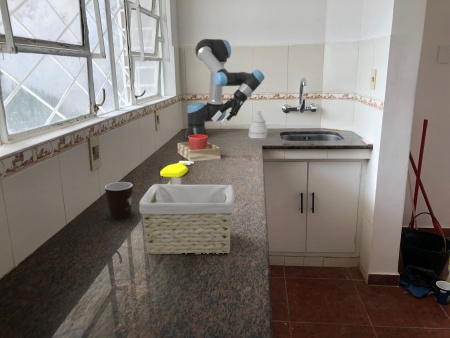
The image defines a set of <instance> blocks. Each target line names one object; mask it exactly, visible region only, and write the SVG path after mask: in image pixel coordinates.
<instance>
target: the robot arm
mask: <svg viewBox="0 0 450 338" xmlns="http://www.w3.org/2000/svg"><path fill="white" fill-rule="evenodd" d="M194 52H195V55H196V57H197V59H199V61H201V62H203V63H204V65H205V66H206V68H207V69H208V70H209V71H210V75H209V76H210V78H209V79H210V81H209V96H208V99H207V100H206V103H205V102H194V103H193V102H192V103H191V104H189V105H187V107H186V109H187V110H186V113H187V128H186V130H185V135H184V136H185V137H184V138H185V139H188V140H189V138H188V136H190V135H206V136H208V132H207V129H206V122H214V123H216V122H218V121H219V122H220V123H221V124H222V125H223V126H224V127H225V126H226V125H227V124H228V123H229V121H231V119H232V118H233V117H236V116H238V113H239V111H240V110H241V107H242V105H244V103H245V102H246V101H247V100H248V98H249V97H251V96H252V94H253V93H254V92H255V91H256V90H257V89H258V87H260V85H261V84H262V83H263V81H264V80H265V75H264V74H263V72H262V71H261V70H259V69H254V70H253V71H252V72H251V73H250V72H245V71H239V72H235V71H234V72H231V71H230V72H229V71H228V70H227V69H226V68H225V64H226V63H227V61H228V59H230V58H231V55H232V48H231V45H230V42H229V40H227V39H220V38H203V39H201V40H199V41H198V42H197V44H196V46H195V51H194ZM223 87H238V88H237V89H236V91H234V93H233V98H232V97H230V98H229V99H228V100H227V101H225V102H224V101H223V100H222V97H223ZM229 109H230V111H229V112H228V113H227V111H228V110H229ZM226 114H227V115H226Z"/></svg>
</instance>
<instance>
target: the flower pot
mask: <svg viewBox="0 0 450 338" xmlns="http://www.w3.org/2000/svg"><path fill="white" fill-rule="evenodd" d="M188 138H189V139H188V142H189V144H190V150H201V149H206V146H207V142H208V139H209V136H208V135H207V136H206V135H190V136H188Z"/></svg>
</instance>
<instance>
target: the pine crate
mask: <svg viewBox="0 0 450 338" xmlns="http://www.w3.org/2000/svg"><path fill="white" fill-rule="evenodd" d="M177 153H178V154H179V155H180V156H182V157H183V158H184V159H186V160H187V161H191V162H198V161H209V160H218V159H221V156H222V155H221V153H222V151H221V147H220V146H217V145H215V144H213V143H212V142H209V141H207V146H206V149H201V150H190V144H189V141H188V142H177Z"/></svg>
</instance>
